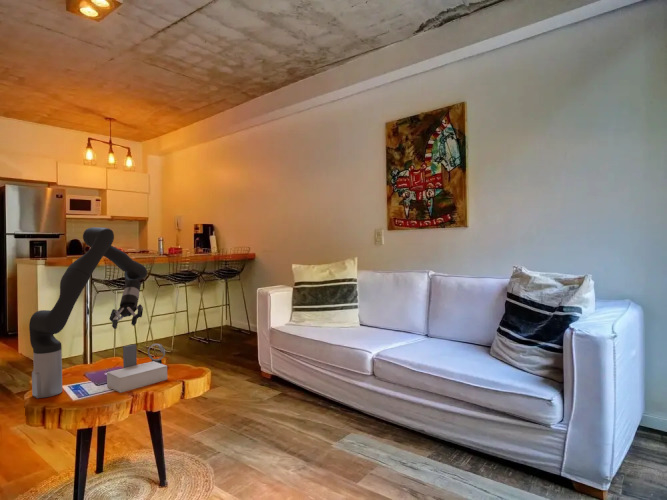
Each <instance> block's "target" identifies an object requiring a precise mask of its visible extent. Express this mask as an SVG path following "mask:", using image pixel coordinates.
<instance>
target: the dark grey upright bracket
mask: <svg viewBox="0 0 667 500" xmlns="http://www.w3.org/2000/svg"><path fill="white" fill-rule="evenodd" d="M122 350H123V351H122V354H123V355H122V357H123V358H122V361H123V363H122V365H123V368H127V367H131V366H135V365H138V364H137V362H138V361H137V359H138V358H137V344H129V345H123V346H122Z"/></svg>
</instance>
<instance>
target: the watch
mask: <svg viewBox="0 0 667 500" xmlns="http://www.w3.org/2000/svg"><path fill="white" fill-rule="evenodd" d="M154 346H157V348H158V350H159V351H160V352H161V353H162V356H161V357H159V358H153V356H152V355H151V353H150V349H151V348H152V347H154ZM166 352H167V351H166V349H165V348H164V347H163V344H162V343H153V344H151V345H150V346H149V347H148V348H147V355H148V357H149V359H150V360H151V362H152V361H154V362H157V363H160V364H163V361H162V359H163V358H164V357H165V355H166Z"/></svg>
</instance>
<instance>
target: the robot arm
mask: <svg viewBox="0 0 667 500" xmlns="http://www.w3.org/2000/svg"><path fill="white" fill-rule="evenodd" d="M82 239H83V242H84V244H85V245H87V247H90V248H89V249H88V250H87V251H86V252H85V253H84V254H83V255H81V256H79V258H77V259H75V260H74V261H73V262H72V263H71V264H69V266H68V267H67V269H66V270H65V272H64V273H63V275H62V276H61V279H60V281H59V282H60V283H59V296H58V299H57V301H56V303H55V305H54V306H53V307H52V309H50V310H44V309H43V310H42V309H41V310H38V311H36V312H34V313H33V314H32V315H31V317H30V319H29V322H28V323H29V324H28V327H29V328H28V330H29V340H30V347H32V350H33V351H32V352H33V353H32V354H33V355H32V357H33V358H32V359H33V370H32V371H31V381H32V382H31V387H32V389H31V391H32V392H31V393H32V396H33V397H34V398H36V399H42V398H50V397H54V396H57V395H59V394H61V393H62V392H63V362H62V361H63V359H62V357H63V353H62V352H63V351H62V350H63V349H62V348H63V347H62V342H61V341H60V340H58V339H57V338H56V337H55V335H57V334H59V333H60V332H61V331H62V330H63V329H64V328H65V327H66V325H67V322H68V320H69V317H70V316H71V313H72V311H73V309H74V306H75V304H77V303H76V302H77V301H78V299H79V298H80V296H81V294H82V292H83V290H84V288H85V287H86V285H87V284H88V282H89V280H90V279H91V277H92V274H93V273H94V272H95V269H96V268H97V266H98V265H99V263H100V262H101V260H102V258H103V257H105V258H106V259H108V260H109V261H111V263H113V264H114V265H116V267H118V268H119V269H120V271H122V272H124V273H123V274H124V281H125V282H124V289H123V291H122V295H121V299H120V303H119V308H118V309H115V308H113V309H112V310H111V313H110V316H109V321H110V322H111V327H112V329H114V330H117V328H118V325H119V323H118V322H119V321H120V320H122V319H123V318H127V317H131V316H132V318H131V325H132V326H133V327H134V326H136V325H137V323H138V321H137V320H138V318H143V311H144V307H143V305H142V304H140V303H139V304H138V302H139V298H140V292H141V287H142V285H141V284H142V283H141V281H139V280H142V279H145V278H146V277H147V276H148V270H147V268H146V267H145V266H144V265H143V264H142V263H141V262H137V261H136V260H134V259H132V257H130V256H129V255H128V254H127V253H126V252H124V251H122V250H121V249H119V248H117V247H116V246H113V245H112V244H113V243H114V240H115V233H114V231H113V230H112V229H111V228H109V227H108V228H107V227H95V226H94V227H92V226H91V227H88V228H87V229H85V230H84V232H83V234H82ZM136 311H137V313H135V312H136Z"/></svg>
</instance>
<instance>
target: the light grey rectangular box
mask: <svg viewBox="0 0 667 500" xmlns="http://www.w3.org/2000/svg"><path fill="white" fill-rule="evenodd" d="M166 380H168V365H166V364H163V363H162V364H160V363H157V362H154V361H152V360H151V361H149V362H144V363H139V364H137V365H135V366H131V367H127V368H120V369H115V370H111V371H107V372H106V384H107V385H106V387H107V388H109V389H112V390H114V391H116V392H118V393H124V392H128V391H132V390H135V389H139V388H143V387H147V386H149V385H153V384H156V383H159V382H165V381H166Z"/></svg>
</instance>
